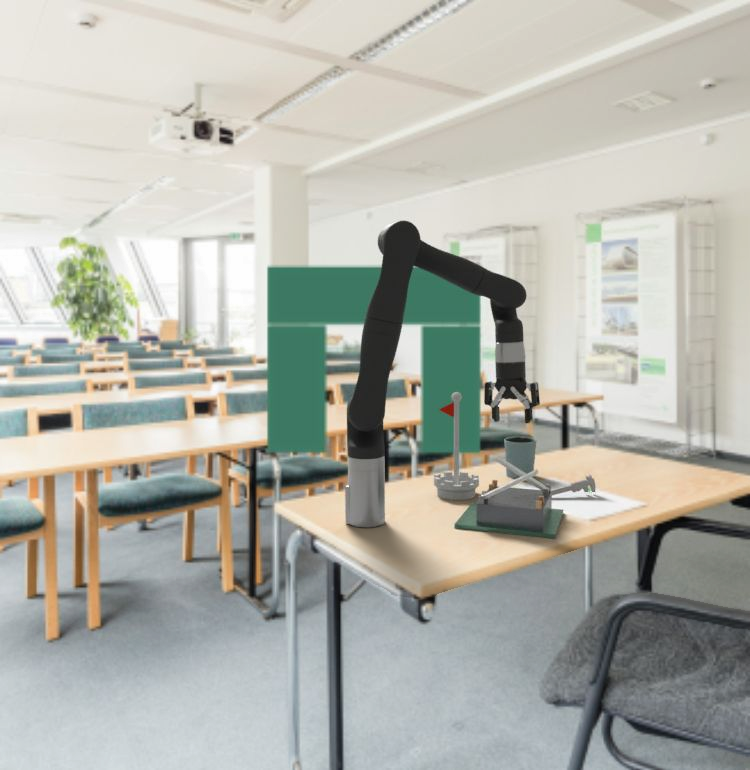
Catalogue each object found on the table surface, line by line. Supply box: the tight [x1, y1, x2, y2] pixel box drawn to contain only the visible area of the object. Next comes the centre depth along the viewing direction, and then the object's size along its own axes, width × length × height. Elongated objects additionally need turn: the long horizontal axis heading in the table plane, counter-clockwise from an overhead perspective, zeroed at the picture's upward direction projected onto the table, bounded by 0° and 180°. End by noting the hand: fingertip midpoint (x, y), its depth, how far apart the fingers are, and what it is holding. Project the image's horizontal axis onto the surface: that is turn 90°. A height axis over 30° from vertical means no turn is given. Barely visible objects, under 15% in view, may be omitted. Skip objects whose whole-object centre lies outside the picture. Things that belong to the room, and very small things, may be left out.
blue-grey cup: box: [503, 435, 538, 479], centre depth 217 cm, size 10×10×12 cm
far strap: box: [494, 455, 550, 491], centre depth 176 cm, size 16×3×1 cm
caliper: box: [551, 474, 596, 496], centre depth 193 cm, size 20×1×6 cm, turn 101°
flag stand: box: [433, 391, 480, 501], centre depth 195 cm, size 13×13×30 cm
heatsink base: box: [454, 479, 565, 540], centre depth 171 cm, size 24×21×8 cm
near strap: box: [481, 468, 539, 499], centre depth 166 cm, size 16×3×1 cm, turn 69°
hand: (512, 422), depth 176 cm, fingers open, 8 cm apart
